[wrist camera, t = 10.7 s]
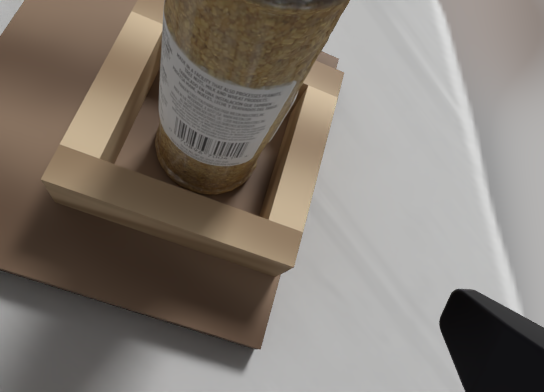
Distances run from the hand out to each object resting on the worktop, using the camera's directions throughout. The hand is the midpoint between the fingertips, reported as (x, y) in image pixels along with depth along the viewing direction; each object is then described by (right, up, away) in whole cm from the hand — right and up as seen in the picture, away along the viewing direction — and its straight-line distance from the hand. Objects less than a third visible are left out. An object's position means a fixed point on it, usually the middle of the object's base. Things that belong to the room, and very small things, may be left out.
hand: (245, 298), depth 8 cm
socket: (-5, +5, +11) cm, 13 cm away
